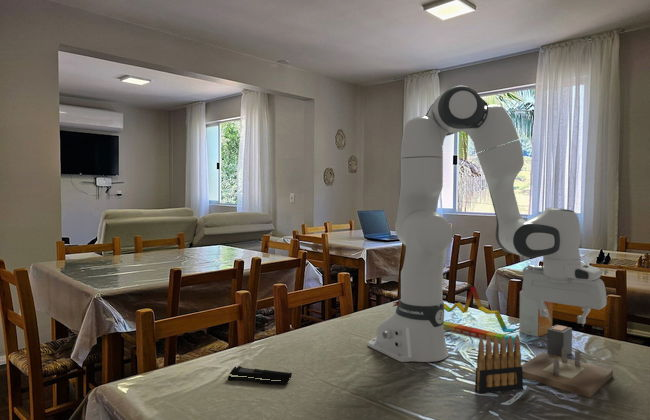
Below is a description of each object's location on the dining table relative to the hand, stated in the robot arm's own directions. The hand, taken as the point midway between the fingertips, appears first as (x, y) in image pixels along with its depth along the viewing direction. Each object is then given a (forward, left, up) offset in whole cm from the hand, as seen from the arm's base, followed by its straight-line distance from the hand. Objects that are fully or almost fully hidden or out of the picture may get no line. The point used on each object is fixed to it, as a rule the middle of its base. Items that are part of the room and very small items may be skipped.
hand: (562, 319), depth 118 cm
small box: (-12, +14, -10) cm, 21 cm away
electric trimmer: (-42, -69, -10) cm, 81 cm away
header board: (+6, -14, -9) cm, 18 cm away
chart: (-28, -2, -10) cm, 29 cm away
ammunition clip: (-1, -32, -10) cm, 34 cm away
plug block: (0, 0, -9) cm, 9 cm away
